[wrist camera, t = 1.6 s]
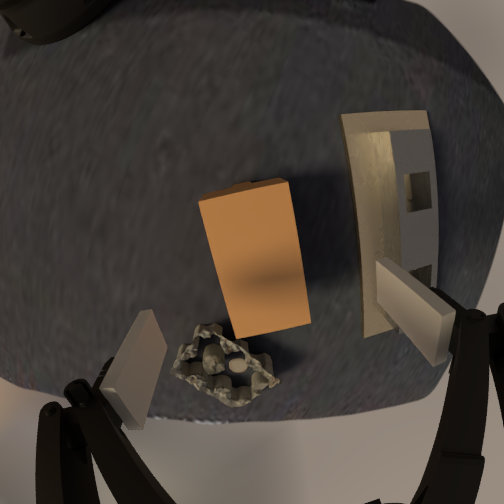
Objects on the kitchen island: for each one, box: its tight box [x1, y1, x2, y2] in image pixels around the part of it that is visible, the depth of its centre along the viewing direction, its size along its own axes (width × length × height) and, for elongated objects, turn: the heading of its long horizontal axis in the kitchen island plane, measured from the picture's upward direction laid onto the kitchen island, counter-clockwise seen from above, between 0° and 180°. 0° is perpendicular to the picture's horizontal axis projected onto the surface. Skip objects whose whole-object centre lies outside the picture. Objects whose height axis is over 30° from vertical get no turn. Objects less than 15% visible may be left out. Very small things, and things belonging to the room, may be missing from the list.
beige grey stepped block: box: [338, 110, 439, 338], centre depth 25 cm, size 24×10×4 cm, turn 12°
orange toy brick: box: [198, 178, 311, 339], centre depth 24 cm, size 11×6×7 cm, turn 12°
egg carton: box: [170, 323, 282, 407], centre depth 30 cm, size 11×8×4 cm
